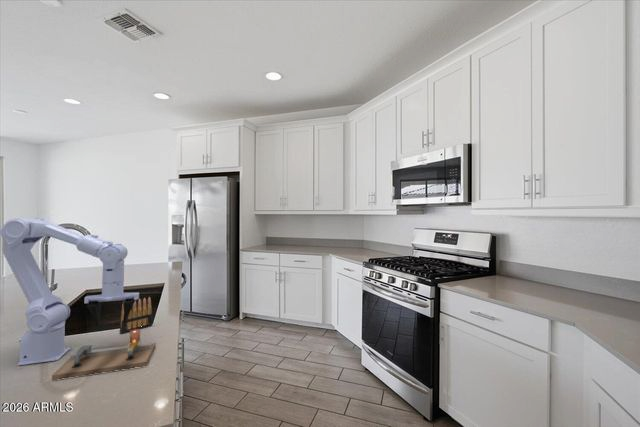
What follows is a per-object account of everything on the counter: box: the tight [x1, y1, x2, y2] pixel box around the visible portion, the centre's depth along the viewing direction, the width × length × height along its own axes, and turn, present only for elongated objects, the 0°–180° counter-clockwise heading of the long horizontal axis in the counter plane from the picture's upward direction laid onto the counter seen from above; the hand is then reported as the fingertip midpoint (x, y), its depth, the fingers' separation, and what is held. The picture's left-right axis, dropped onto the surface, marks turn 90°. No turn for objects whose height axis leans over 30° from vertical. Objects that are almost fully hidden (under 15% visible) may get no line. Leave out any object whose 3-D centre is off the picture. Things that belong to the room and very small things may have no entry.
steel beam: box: [68, 342, 153, 360], centre depth 87 cm, size 21×2×2 cm, turn 110°
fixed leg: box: [73, 344, 93, 367], centre depth 82 cm, size 2×7×3 cm, turn 20°
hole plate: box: [51, 342, 156, 381], centre depth 85 cm, size 22×13×2 cm, turn 110°
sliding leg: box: [128, 329, 141, 359], centre depth 87 cm, size 3×7×6 cm, turn 21°
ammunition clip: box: [119, 296, 153, 335], centre depth 110 cm, size 11×2×12 cm, turn 141°
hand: (111, 322), depth 92 cm, fingers open, 7 cm apart
